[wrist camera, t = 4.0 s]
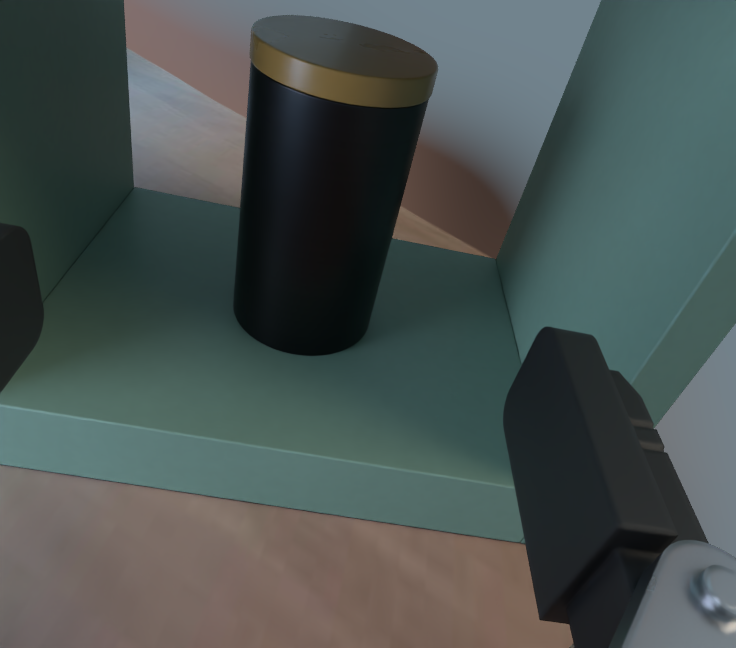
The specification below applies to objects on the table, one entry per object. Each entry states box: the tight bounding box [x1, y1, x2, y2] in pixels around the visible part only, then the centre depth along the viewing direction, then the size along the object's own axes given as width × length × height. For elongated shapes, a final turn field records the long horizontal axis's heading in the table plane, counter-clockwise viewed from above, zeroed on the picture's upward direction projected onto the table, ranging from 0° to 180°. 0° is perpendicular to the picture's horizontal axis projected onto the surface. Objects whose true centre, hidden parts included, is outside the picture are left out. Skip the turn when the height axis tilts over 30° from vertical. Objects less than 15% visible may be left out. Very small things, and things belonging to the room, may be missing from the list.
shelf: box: [0, 0, 736, 544], centre depth 19 cm, size 21×14×21 cm, turn 88°
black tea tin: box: [233, 15, 438, 356], centre depth 20 cm, size 6×6×10 cm
